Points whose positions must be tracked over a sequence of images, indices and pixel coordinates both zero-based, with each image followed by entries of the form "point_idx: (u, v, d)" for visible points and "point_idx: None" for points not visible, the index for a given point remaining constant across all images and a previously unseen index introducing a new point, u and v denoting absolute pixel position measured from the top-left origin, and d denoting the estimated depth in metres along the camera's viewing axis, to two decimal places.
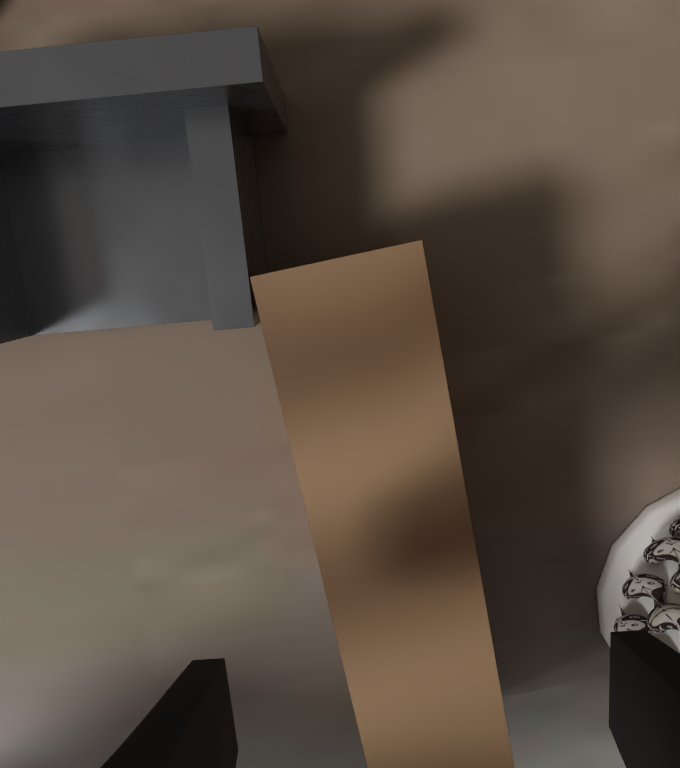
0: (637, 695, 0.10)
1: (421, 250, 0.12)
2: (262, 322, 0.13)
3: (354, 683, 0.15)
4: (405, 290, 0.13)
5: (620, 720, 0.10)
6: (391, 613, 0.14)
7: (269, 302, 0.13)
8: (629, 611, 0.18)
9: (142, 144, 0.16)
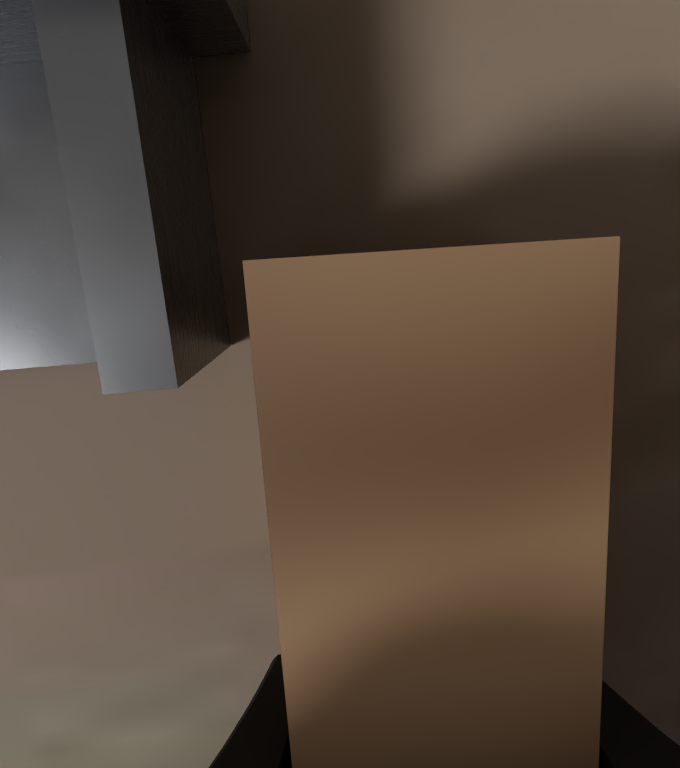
0: None
1: (615, 258, 0.06)
2: (255, 359, 0.06)
3: None
4: (563, 334, 0.06)
5: None
6: None
7: (276, 319, 0.06)
8: None
9: (4, 68, 0.09)
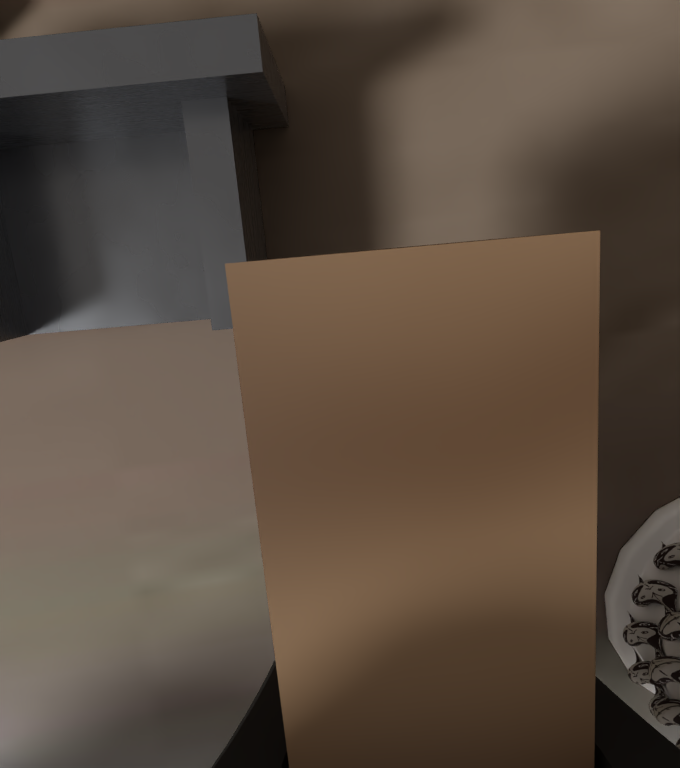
0: None
1: (596, 252, 0.06)
2: (240, 361, 0.06)
3: None
4: (546, 330, 0.06)
5: None
6: None
7: (259, 321, 0.06)
8: (639, 618, 0.18)
9: (139, 138, 0.16)
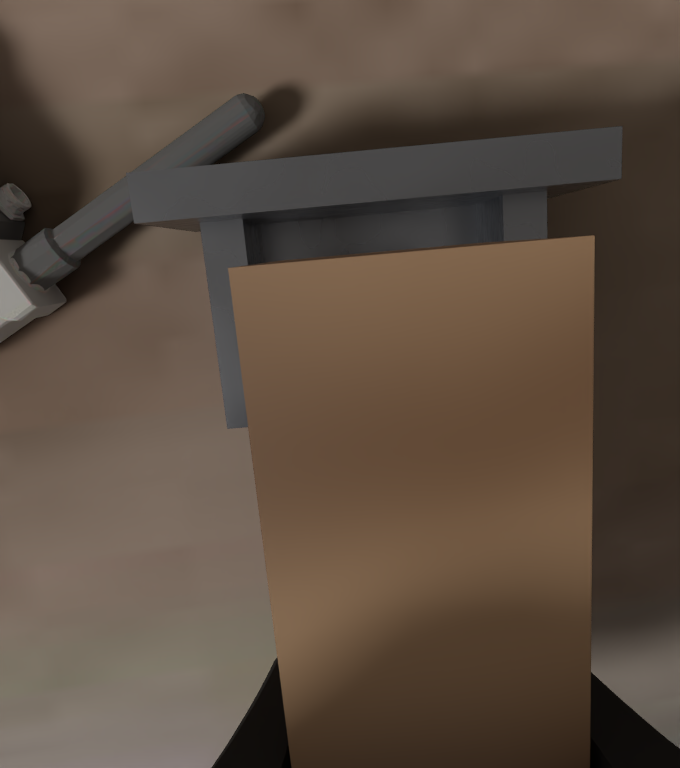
0: None
1: (590, 256, 0.06)
2: (243, 363, 0.06)
3: None
4: (542, 333, 0.06)
5: None
6: None
7: (262, 324, 0.06)
8: None
9: (405, 214, 0.16)
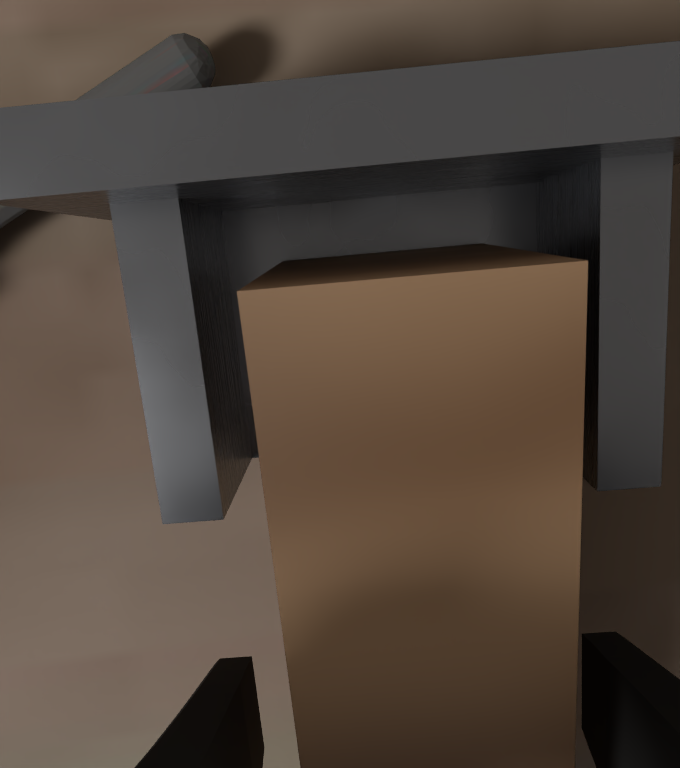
0: (606, 697, 0.10)
1: (584, 281, 0.06)
2: (251, 381, 0.07)
3: None
4: (536, 352, 0.07)
5: (591, 722, 0.10)
6: None
7: (269, 344, 0.07)
8: None
9: (432, 196, 0.11)
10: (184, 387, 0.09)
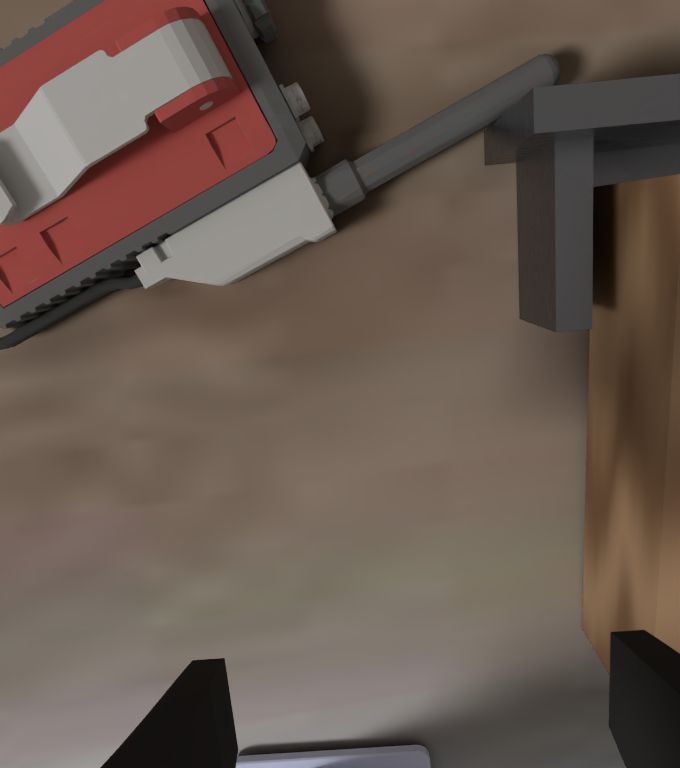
0: (637, 695, 0.10)
1: None
2: None
3: (665, 578, 0.16)
4: None
5: (620, 720, 0.10)
6: None
7: None
8: None
9: None
10: (581, 248, 0.16)
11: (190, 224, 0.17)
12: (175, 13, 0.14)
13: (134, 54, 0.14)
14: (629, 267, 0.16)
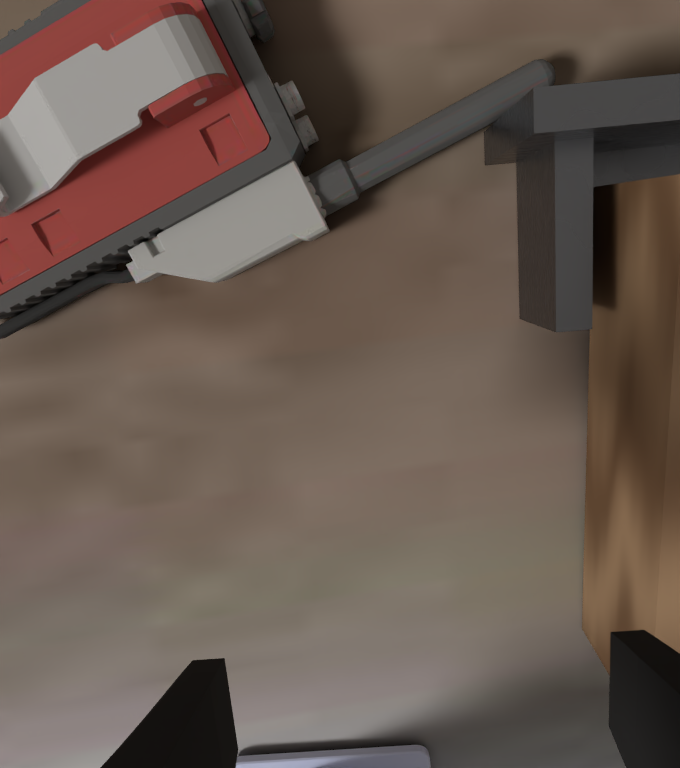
0: (637, 695, 0.10)
1: None
2: None
3: (665, 578, 0.16)
4: None
5: (620, 720, 0.10)
6: None
7: None
8: None
9: None
10: (581, 248, 0.16)
11: (182, 220, 0.17)
12: (171, 8, 0.14)
13: (129, 48, 0.14)
14: (629, 267, 0.16)
